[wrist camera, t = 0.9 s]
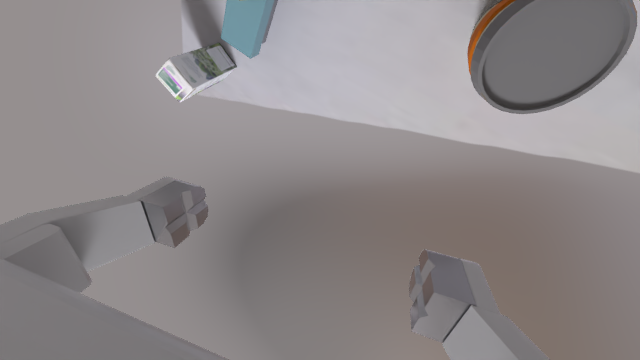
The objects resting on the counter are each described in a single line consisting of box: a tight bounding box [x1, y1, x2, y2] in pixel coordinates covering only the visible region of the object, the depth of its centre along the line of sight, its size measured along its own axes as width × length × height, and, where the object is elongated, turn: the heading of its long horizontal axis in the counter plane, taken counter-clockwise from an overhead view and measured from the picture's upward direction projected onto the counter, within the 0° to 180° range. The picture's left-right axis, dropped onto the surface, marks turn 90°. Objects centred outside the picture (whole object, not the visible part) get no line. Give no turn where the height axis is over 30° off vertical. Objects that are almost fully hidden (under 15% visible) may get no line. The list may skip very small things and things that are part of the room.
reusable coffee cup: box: [468, 0, 637, 114], centre depth 29 cm, size 13×13×15 cm
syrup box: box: [155, 43, 236, 102], centre depth 45 cm, size 6×6×14 cm
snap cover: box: [221, 0, 274, 58], centre depth 38 cm, size 10×6×3 cm, turn 151°
